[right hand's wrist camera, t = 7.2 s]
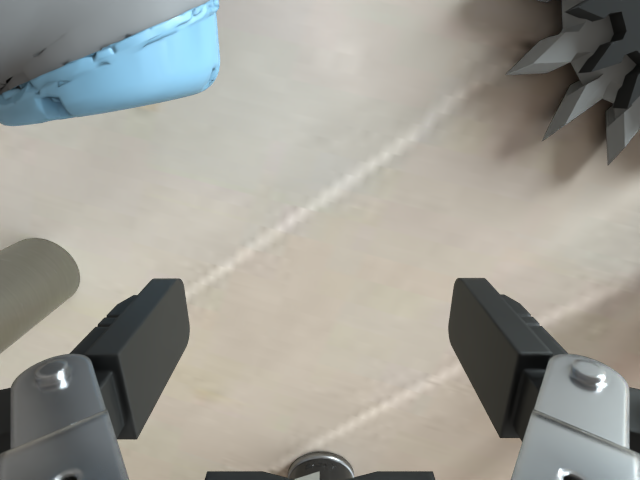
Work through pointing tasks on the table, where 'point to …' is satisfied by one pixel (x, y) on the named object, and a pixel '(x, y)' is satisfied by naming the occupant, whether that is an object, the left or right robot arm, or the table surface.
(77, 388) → the right robot arm
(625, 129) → the decorative piece
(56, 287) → the bottle
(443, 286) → the table surface
